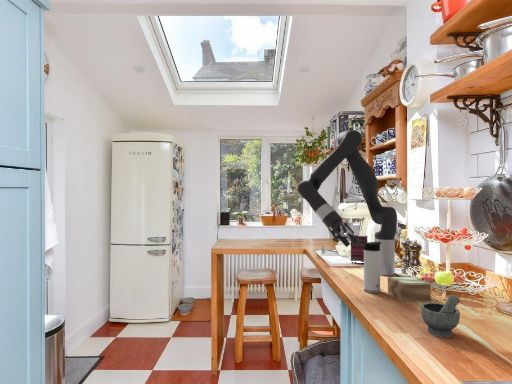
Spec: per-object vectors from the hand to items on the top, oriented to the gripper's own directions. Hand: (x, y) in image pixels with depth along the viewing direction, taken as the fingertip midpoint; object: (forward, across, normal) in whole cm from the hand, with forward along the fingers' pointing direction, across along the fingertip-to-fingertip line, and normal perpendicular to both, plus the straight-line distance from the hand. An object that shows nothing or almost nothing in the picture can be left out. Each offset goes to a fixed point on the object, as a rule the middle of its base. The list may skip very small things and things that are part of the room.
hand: (352, 244), depth 139 cm
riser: (+28, +2, -2) cm, 28 cm away
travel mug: (+19, 0, +7) cm, 20 cm away
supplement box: (0, +49, +26) cm, 56 cm away
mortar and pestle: (+40, -28, -14) cm, 51 cm away
